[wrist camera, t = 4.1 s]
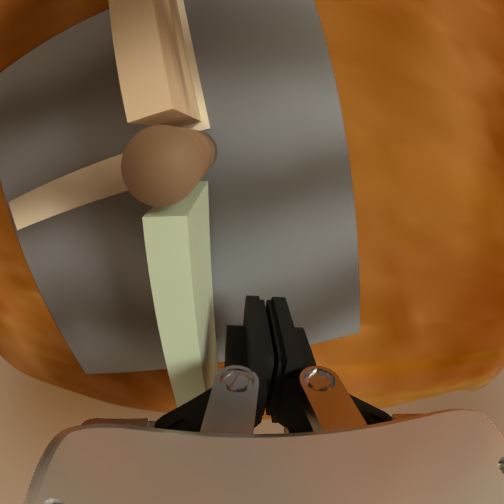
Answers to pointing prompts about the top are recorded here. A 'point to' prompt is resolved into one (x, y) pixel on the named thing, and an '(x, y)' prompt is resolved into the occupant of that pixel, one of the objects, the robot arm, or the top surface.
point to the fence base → (181, 168)
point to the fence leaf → (183, 291)
